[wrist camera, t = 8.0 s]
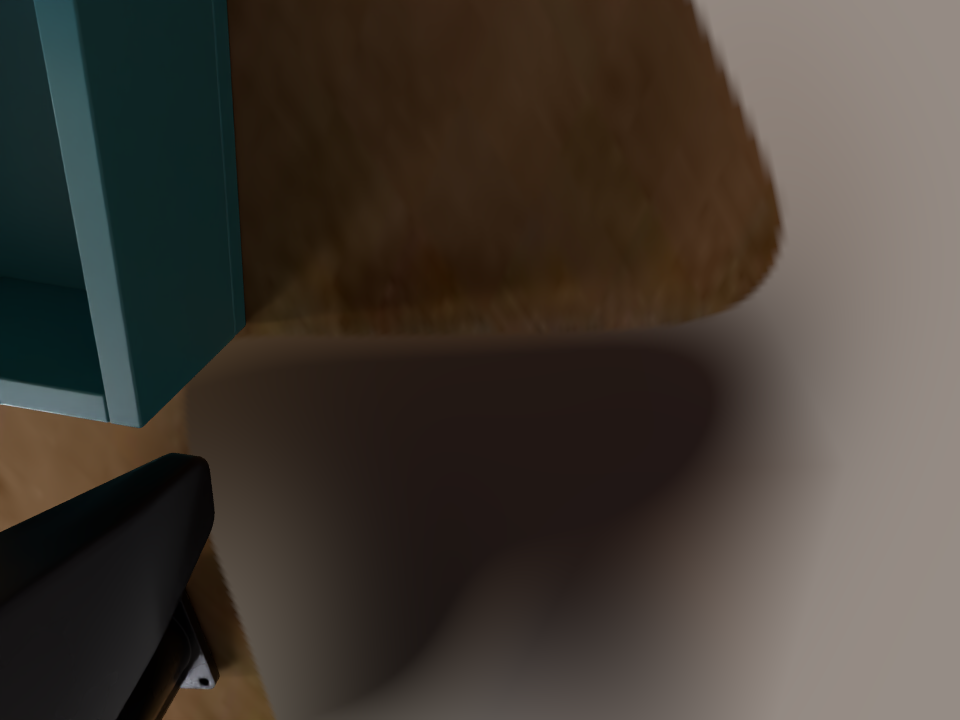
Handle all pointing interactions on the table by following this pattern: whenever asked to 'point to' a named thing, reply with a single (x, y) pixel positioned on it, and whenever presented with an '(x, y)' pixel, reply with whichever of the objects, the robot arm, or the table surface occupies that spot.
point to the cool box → (115, 203)
